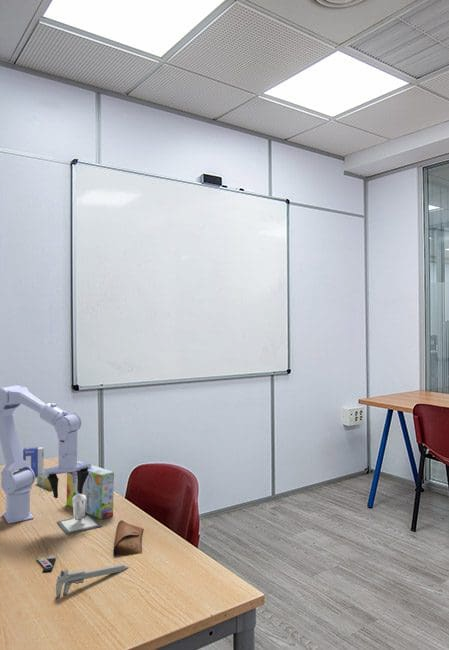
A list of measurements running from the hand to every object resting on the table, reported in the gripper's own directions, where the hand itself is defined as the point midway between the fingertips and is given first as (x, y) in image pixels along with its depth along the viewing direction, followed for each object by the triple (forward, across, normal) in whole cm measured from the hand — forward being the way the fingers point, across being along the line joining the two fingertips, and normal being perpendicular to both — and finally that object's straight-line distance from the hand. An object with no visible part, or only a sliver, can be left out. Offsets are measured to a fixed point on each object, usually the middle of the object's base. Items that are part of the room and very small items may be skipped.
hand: (67, 494), depth 161 cm
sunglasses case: (+11, +12, -21) cm, 26 cm away
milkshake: (+10, +4, -1) cm, 11 cm away
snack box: (+11, +11, +10) cm, 18 cm away
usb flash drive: (+11, -13, -21) cm, 27 cm away
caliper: (+11, -5, -37) cm, 39 cm away
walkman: (+11, +4, +61) cm, 62 cm away
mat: (+10, +4, 0) cm, 11 cm away
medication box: (+11, +5, +43) cm, 45 cm away
